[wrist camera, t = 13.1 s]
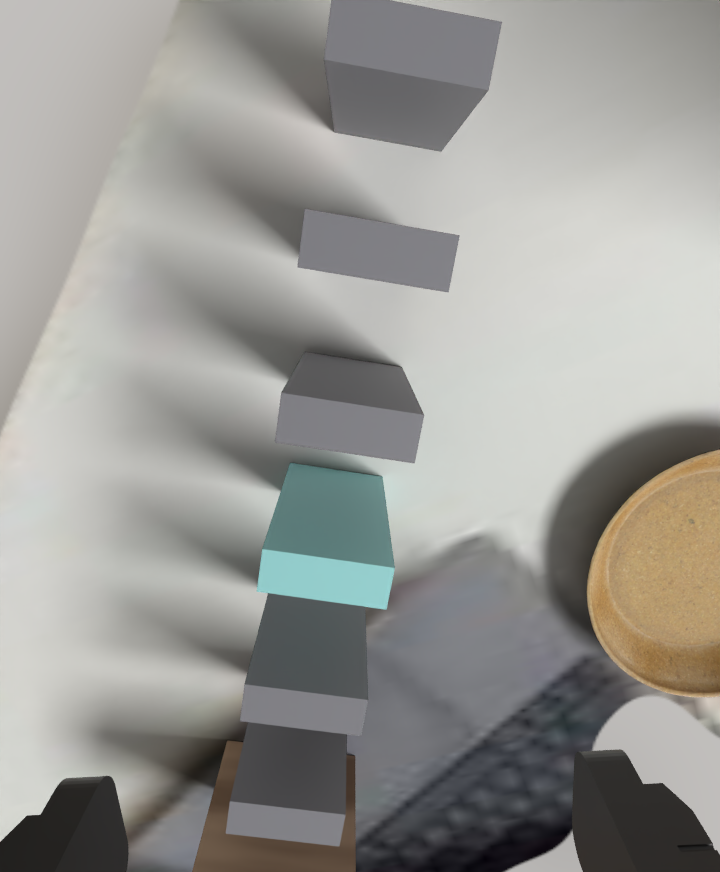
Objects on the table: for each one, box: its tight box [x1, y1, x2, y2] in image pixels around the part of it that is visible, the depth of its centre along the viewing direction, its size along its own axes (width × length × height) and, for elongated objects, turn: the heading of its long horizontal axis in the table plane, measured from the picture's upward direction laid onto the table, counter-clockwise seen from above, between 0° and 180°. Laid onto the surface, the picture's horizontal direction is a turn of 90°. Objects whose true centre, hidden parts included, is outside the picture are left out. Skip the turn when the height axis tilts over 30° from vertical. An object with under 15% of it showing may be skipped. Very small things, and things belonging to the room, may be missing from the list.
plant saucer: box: [587, 449, 720, 697], centre depth 32 cm, size 15×15×3 cm
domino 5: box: [240, 593, 368, 736], centre depth 29 cm, size 2×5×10 cm, turn 81°
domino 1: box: [324, 0, 502, 151], centre depth 22 cm, size 2×5×10 cm, turn 81°
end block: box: [192, 740, 356, 872], centre depth 33 cm, size 4×8×9 cm, turn 81°
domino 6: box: [226, 722, 347, 846], centre depth 30 cm, size 2×5×10 cm, turn 81°
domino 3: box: [275, 352, 424, 463], centre depth 25 cm, size 2×5×10 cm, turn 80°
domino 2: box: [298, 209, 460, 292], centre depth 24 cm, size 2×5×10 cm, turn 81°
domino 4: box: [257, 463, 395, 609], centre depth 27 cm, size 2×5×10 cm, turn 81°
